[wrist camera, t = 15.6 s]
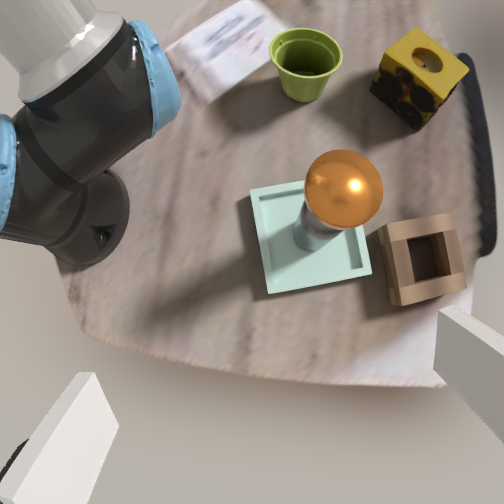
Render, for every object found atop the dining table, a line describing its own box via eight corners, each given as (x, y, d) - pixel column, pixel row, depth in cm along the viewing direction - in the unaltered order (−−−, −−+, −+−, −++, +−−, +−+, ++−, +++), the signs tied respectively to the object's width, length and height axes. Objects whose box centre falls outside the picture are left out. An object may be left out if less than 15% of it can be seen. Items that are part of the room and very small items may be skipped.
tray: (268, 293, 40) (268, 294, 38) (250, 194, 42) (249, 190, 40) (367, 274, 40) (372, 273, 38) (346, 178, 41) (349, 173, 39)
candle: (445, 101, 41) (472, 69, 32) (418, 134, 41) (445, 102, 31) (399, 62, 43) (417, 24, 33) (367, 90, 43) (383, 51, 33)
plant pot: (280, 117, 43) (280, 83, 34) (264, 69, 44) (261, 32, 35) (341, 107, 42) (353, 73, 34) (321, 60, 44) (327, 24, 35)
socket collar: (390, 304, 39) (401, 306, 35) (376, 229, 40) (386, 223, 36) (452, 288, 39) (466, 287, 35) (438, 218, 40) (452, 212, 36)
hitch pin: (293, 258, 40) (315, 232, 20) (285, 216, 40) (297, 155, 21) (335, 250, 40) (391, 219, 20) (326, 209, 40) (371, 145, 21)
